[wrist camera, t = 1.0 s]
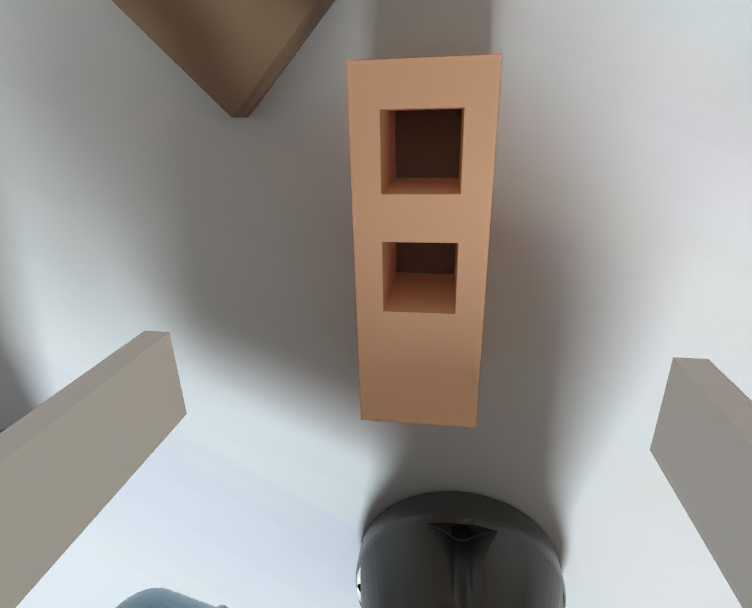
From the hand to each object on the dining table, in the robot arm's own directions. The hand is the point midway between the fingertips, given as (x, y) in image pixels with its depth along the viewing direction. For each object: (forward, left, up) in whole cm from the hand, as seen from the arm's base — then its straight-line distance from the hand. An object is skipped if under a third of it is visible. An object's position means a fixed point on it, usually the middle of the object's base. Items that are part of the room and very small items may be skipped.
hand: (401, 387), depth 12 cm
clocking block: (0, 0, -16) cm, 16 cm away
